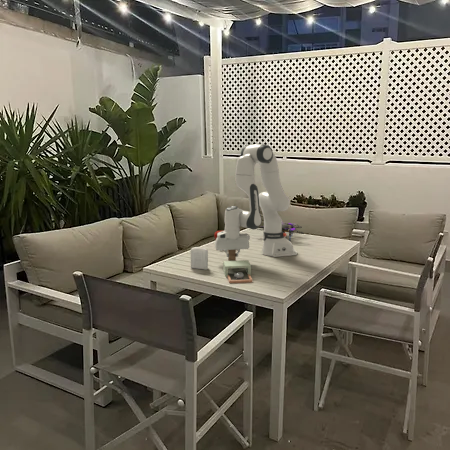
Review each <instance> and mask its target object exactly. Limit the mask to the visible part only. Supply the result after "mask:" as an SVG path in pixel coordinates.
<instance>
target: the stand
mask: <svg viewBox="0 0 450 450" xmlns="http://www.w3.org/2000/svg"><path fill="white" fill-rule="evenodd" d="M222 262H223V263H222V264H223V265H222V266H223V268H222V270H223V275H224V277H226V278H227V275H229V269H232V268H239V269H245V272H246V274H247V275H248V274H250V276H251V277H252V264H251V263H250V261H249V260H244V259H243V260H236V261H228V260H223V261H222Z"/></svg>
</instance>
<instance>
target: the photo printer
mask: <svg viewBox="0 0 450 450" xmlns="http://www.w3.org/2000/svg"><path fill="white" fill-rule="evenodd" d="M190 268H191V269H198V270H208V269H209V250H208V249H206V248H205V247H200V246H195V247H191V248H190Z"/></svg>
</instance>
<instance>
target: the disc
mask: <svg viewBox="0 0 450 450" xmlns="http://www.w3.org/2000/svg"><path fill="white" fill-rule="evenodd" d="M233 277H234V278H233V279H234V280H244V277H245V276H244V273H243V272H242V271H240V272H239V271H238V272H234V274H233Z"/></svg>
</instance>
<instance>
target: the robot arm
mask: <svg viewBox="0 0 450 450" xmlns="http://www.w3.org/2000/svg"><path fill="white" fill-rule="evenodd" d="M278 163H279V162H278V160H277V157H276V155H275V154H274V152H273V149H272V147H271V146H270V145H268V144H262V143H255V144H247V145H244V146H243V147H242V148H241V152H240V156H238V158H237V160H236V165H235V175H234V182H235V185H236V187H237V188H238V189H240V190H241V191H243V192H244V193H245V194H246V195H247V197H248V202H249V205H248V206H249V211H248V210H244V209H242V208H239V206H237V205H232V206H227V208H225V211H224V224H225V225H224V230H223V231H222V232H219V233H217V238H216V240H215V244H214V248H215V250H216V251H224V252H225V254H226V258H228V257H229V253H228V250H236V251H237V252H236V257H239V254H240V252H241V250H249V249H250V237H251V236H250V234H249V233H241V232H240V227H243V228H246V229H250V230H257V228H258V229H259V228H260V227H261V226H262V222H263V226H264V231H262V232H263V233H262V240H263V243H262V248H261V249H262V250H261V252H260V253H261V254H262V255H265V256H268V257H274V258H279V257H289V256H297V254H298V252H297V250H296V249H294V245H293V243H292V242H291V241H289V239H288V238H286V237H287V235H288V234H287V232H285V233H284V232H282V223H283V220H282V217H281V215H279V212H285V211H287V210H288V209H289V208H290V206H291V200H290V197H288V196H287V194H286V193H285V191H284V189H283V186H282V183H281V178H280V170H279V164H278ZM256 164H259V167H260V168H259V169H260V177H261V184H262V186H263V188H265V190H266V191H262V192H260V193H259V189H258V186H257V185H256V181H255V166H256ZM261 212H262V214H261ZM261 215H262V216H263V218H262V216H261ZM262 219H263V221H262Z"/></svg>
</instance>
